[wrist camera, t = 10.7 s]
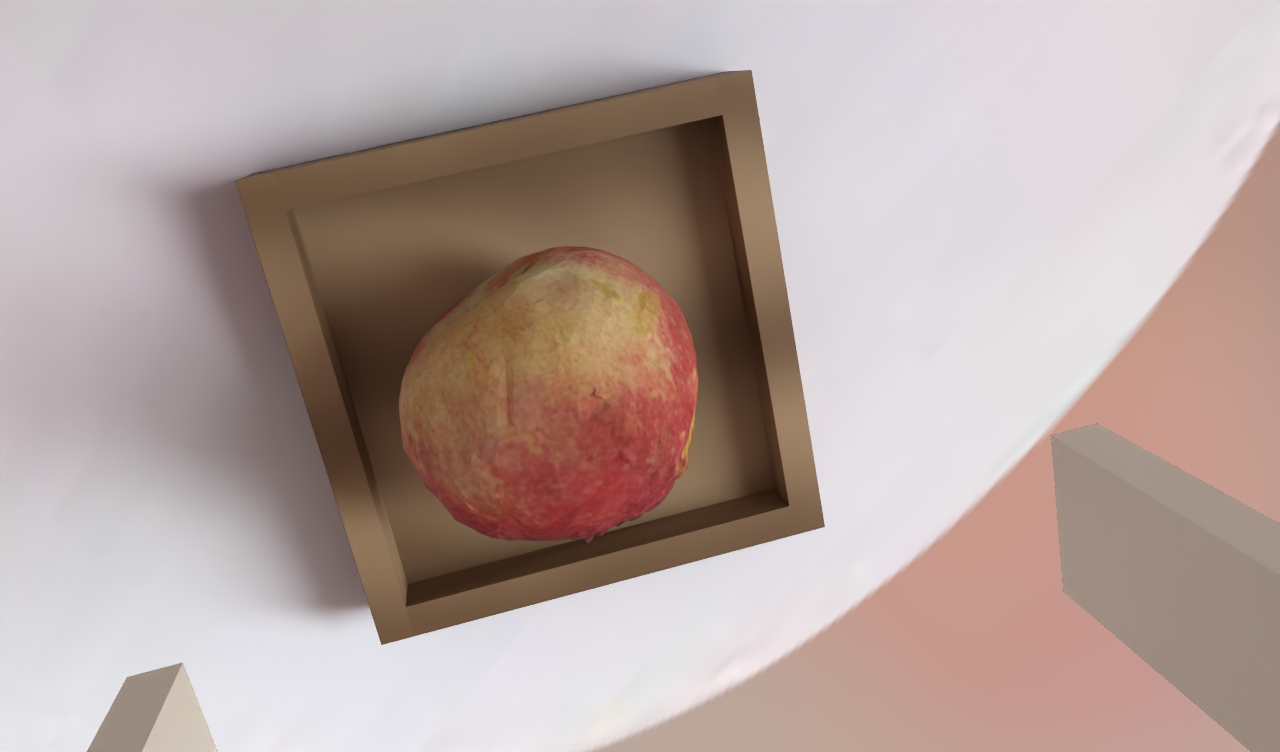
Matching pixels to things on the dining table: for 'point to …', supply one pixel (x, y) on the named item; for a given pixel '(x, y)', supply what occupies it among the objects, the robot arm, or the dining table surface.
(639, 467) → the fruit
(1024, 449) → the dining table surface
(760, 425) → the walnut tray
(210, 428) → the dining table surface
